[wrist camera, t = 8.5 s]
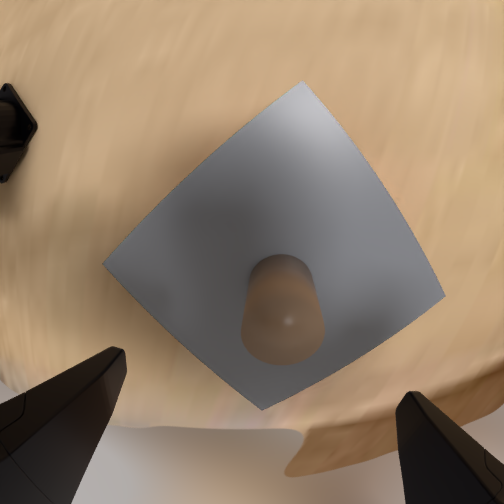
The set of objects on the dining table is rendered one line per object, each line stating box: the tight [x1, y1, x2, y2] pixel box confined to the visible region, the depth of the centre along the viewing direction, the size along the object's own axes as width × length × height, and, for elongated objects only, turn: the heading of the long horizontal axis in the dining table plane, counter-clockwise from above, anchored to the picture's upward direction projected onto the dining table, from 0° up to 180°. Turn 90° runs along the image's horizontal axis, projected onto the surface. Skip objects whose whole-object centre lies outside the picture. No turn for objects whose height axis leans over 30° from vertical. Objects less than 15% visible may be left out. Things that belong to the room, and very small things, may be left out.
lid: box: [103, 80, 445, 410], centre depth 13 cm, size 13×13×5 cm
